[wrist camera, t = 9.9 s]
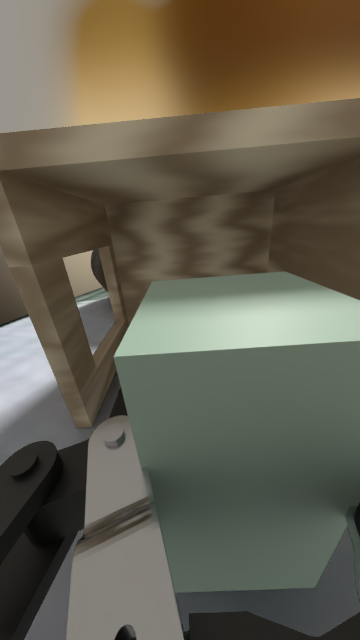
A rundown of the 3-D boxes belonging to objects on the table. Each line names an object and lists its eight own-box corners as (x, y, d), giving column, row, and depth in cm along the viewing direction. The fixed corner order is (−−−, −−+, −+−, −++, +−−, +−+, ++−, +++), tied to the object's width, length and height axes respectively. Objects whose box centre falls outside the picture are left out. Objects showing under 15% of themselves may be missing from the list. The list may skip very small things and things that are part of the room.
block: (261, 446, 12) (285, 271, 8) (314, 587, 7) (447, 334, 3) (174, 451, 12) (152, 281, 8) (171, 593, 7) (113, 356, 3)
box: (266, 322, 29) (283, 177, 22) (349, 410, 15) (470, 87, 8) (124, 333, 29) (94, 194, 22) (76, 427, 15) (-46, 138, 8)
